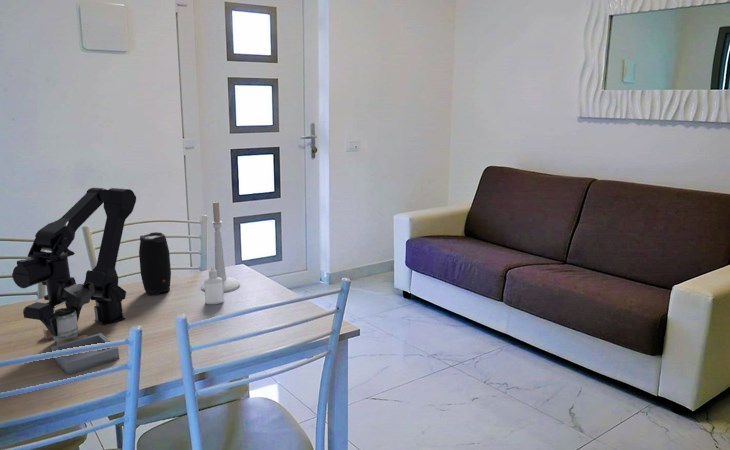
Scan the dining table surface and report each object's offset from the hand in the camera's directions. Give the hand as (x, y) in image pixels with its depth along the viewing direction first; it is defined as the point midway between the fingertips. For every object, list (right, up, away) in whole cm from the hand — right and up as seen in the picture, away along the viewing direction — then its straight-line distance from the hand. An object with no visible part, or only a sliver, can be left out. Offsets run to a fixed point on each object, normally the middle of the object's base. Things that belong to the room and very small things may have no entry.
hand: (65, 331), depth 149 cm
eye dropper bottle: (+33, +4, +28) cm, 43 cm away
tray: (+10, -5, -9) cm, 14 cm away
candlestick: (+31, +7, +43) cm, 53 cm away
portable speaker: (+11, +6, +38) cm, 40 cm away
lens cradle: (0, -3, +1) cm, 3 cm away
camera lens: (0, -2, +1) cm, 2 cm away
